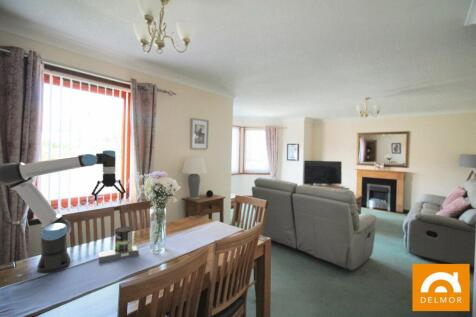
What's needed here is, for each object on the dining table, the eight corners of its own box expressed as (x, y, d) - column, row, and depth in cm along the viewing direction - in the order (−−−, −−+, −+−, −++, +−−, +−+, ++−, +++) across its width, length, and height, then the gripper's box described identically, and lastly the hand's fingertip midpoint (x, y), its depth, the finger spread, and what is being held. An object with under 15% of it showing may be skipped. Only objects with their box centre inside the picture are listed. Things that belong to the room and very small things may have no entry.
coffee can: (119, 255, 147) (119, 232, 147) (111, 250, 154) (111, 229, 153) (135, 249, 156) (135, 228, 155) (127, 245, 162) (127, 225, 161)
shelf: (98, 263, 141) (98, 257, 141) (98, 255, 152) (98, 250, 152) (138, 255, 153) (138, 250, 152) (135, 248, 163) (135, 243, 163)
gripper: (86, 174, 150) (87, 207, 150) (130, 172, 163) (129, 203, 163) (87, 173, 156) (87, 205, 157) (128, 172, 169) (128, 201, 170)
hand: (109, 204), depth 160 cm, fingers open, 13 cm apart
